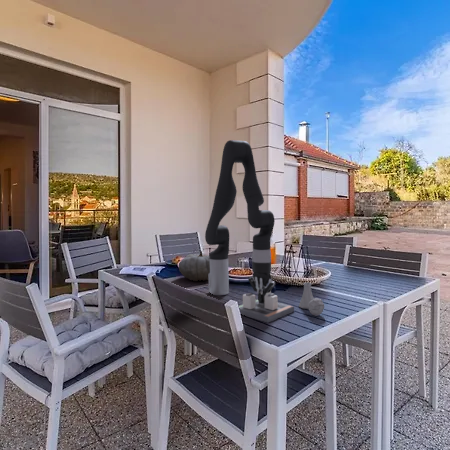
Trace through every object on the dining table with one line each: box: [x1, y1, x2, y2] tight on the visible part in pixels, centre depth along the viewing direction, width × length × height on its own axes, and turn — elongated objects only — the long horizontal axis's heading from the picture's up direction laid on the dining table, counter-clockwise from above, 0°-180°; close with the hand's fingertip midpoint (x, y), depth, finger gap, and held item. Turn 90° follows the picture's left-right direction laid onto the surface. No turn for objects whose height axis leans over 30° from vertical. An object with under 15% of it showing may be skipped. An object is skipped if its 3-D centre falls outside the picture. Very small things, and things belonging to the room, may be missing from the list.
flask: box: [298, 282, 314, 310], centre depth 135 cm, size 7×7×10 cm
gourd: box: [178, 250, 210, 282], centre depth 189 cm, size 25×25×17 cm
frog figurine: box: [308, 297, 325, 317], centre depth 124 cm, size 6×7×7 cm
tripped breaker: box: [265, 292, 279, 310], centre depth 127 cm, size 4×3×6 cm
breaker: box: [242, 292, 257, 309], centre depth 129 cm, size 4×3×6 cm
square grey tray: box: [238, 298, 295, 323], centre depth 130 cm, size 17×17×2 cm
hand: (261, 302), depth 130 cm, fingers closed
